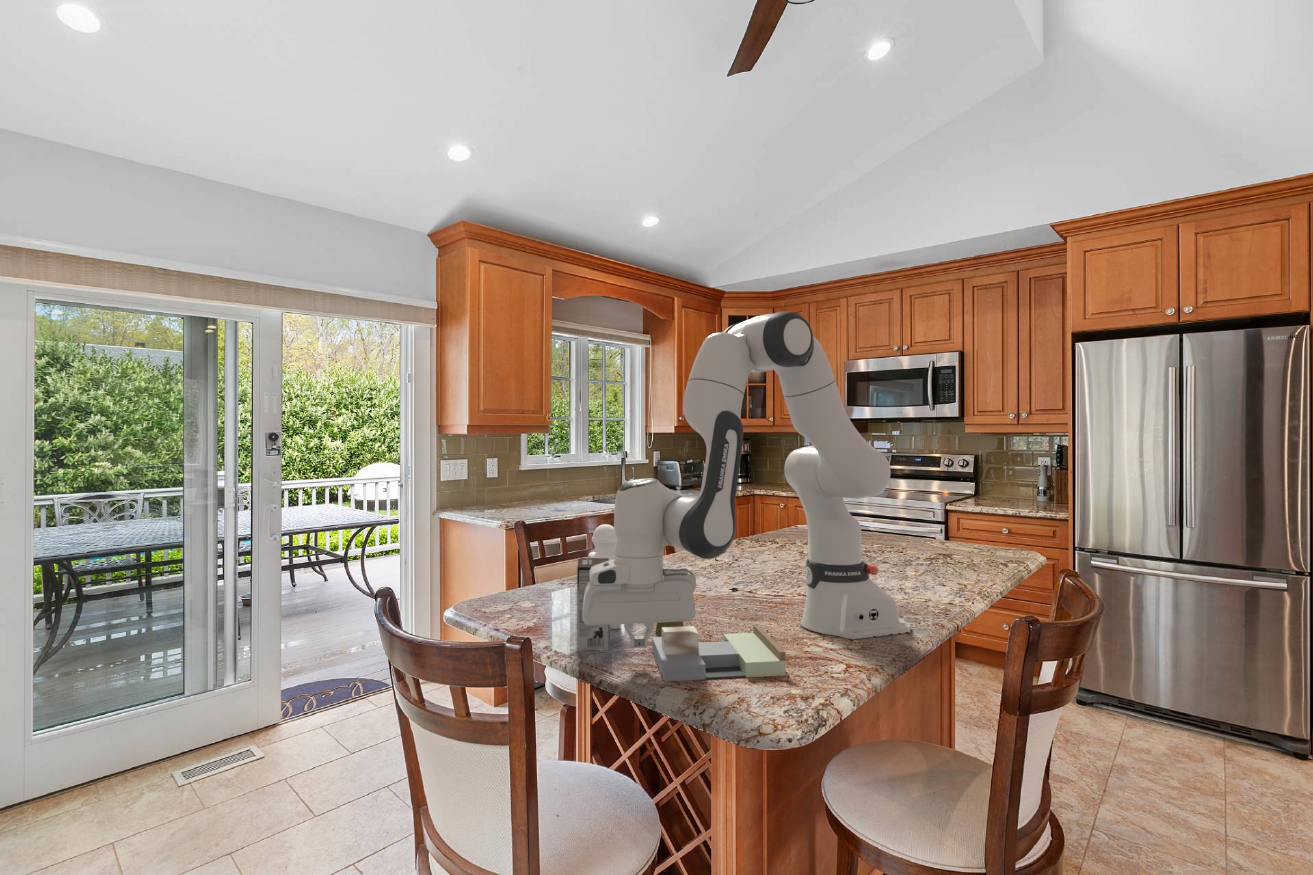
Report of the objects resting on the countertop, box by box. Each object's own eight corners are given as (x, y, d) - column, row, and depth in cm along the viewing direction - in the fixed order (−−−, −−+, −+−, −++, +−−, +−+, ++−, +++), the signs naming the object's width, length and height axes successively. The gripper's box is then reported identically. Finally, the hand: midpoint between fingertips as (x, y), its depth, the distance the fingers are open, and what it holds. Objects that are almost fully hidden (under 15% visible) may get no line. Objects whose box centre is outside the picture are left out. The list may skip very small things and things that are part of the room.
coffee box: (578, 636, 132) (578, 557, 132) (609, 635, 132) (609, 557, 132) (576, 650, 122) (576, 566, 122) (609, 649, 123) (609, 565, 123)
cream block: (693, 645, 118) (693, 626, 118) (698, 653, 114) (698, 633, 114) (661, 646, 117) (661, 627, 117) (665, 654, 113) (665, 634, 113)
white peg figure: (623, 628, 136) (623, 525, 136) (593, 631, 134) (593, 526, 134) (616, 620, 143) (616, 521, 143) (587, 623, 141) (587, 523, 141)
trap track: (758, 645, 126) (758, 624, 126) (785, 675, 110) (785, 651, 110) (652, 650, 123) (652, 629, 123) (664, 681, 107) (664, 657, 107)
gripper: (692, 564, 119) (692, 638, 119) (581, 567, 116) (582, 644, 116) (699, 571, 113) (699, 650, 113) (582, 575, 110) (582, 655, 110)
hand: (639, 647), depth 114 cm, fingers closed
